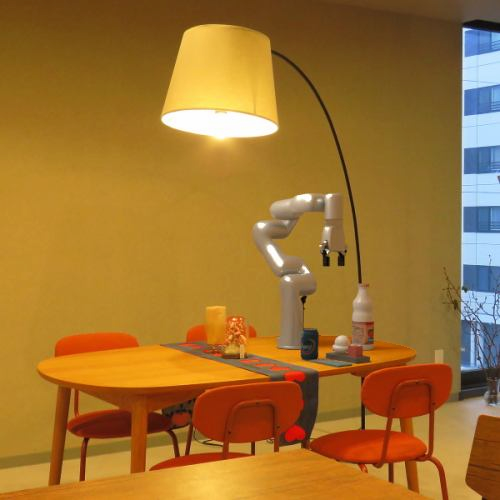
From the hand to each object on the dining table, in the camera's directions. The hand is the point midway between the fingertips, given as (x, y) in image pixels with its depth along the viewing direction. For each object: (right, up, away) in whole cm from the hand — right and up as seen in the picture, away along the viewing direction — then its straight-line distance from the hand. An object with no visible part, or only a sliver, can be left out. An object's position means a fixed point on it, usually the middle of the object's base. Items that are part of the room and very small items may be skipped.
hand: (333, 266), depth 311 cm
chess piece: (-12, -35, +49) cm, 62 cm away
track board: (-3, -36, -21) cm, 42 cm away
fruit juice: (+14, -36, +19) cm, 43 cm away
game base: (+4, -36, -11) cm, 38 cm away
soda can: (-11, -36, -12) cm, 40 cm away
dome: (+2, -33, -9) cm, 34 cm away
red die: (+7, -34, -14) cm, 38 cm away
